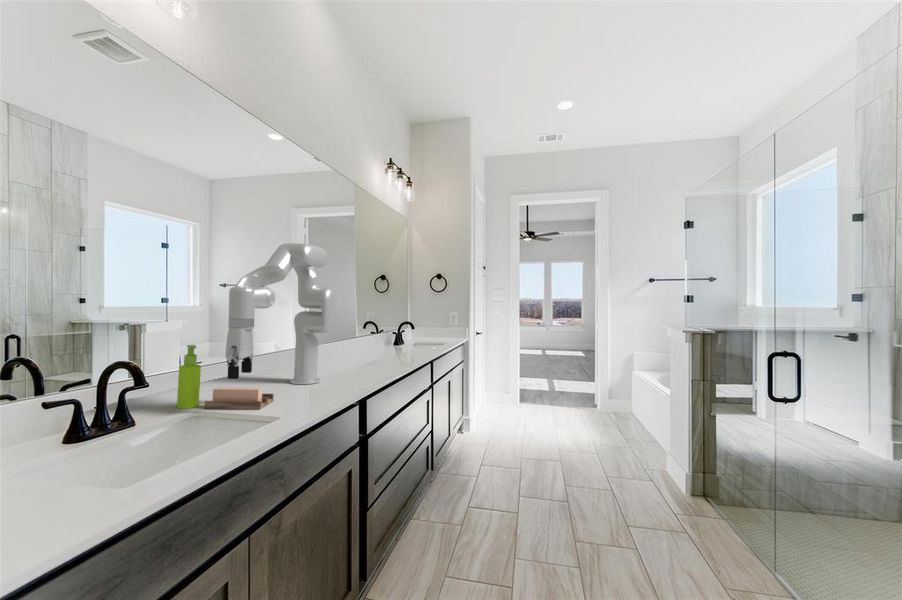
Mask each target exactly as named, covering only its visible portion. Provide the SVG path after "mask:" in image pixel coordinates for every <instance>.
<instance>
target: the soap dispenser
mask: <svg viewBox="0 0 902 600" xmlns="http://www.w3.org/2000/svg"><path fill="white" fill-rule="evenodd" d="M186 347H187V354H185V355H183V357H184V358H183V365H179V366H178V376H177V377H178V380H177V383H178V384H177V398H176V399H177V400H176V408H177V409H180V410H181V409H183V410H184V409H192V408H193V409H194V408H196V407H197V408H198V407H199V405H200V390H201V389H200V386H201V372H202V371H201V370H202V369H201V367H202V366H201V365H200V364H197V361H198V360H197V359H198V358H197V357H198V355H197V354H195V350H196V349H197V345H196V344H186Z"/></svg>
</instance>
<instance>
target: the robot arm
mask: <svg viewBox="0 0 902 600" xmlns="http://www.w3.org/2000/svg"><path fill="white" fill-rule="evenodd" d="M328 257H329V256H328V253H327V251H326V250H325V249H324V247H321V246H317V245H312V244H309V243H291V242H289V243H287V242H286V243H282V244H281V245H279V246H278V247H277V248H276V250H275V251H274V252H273V254H272V255H271V256H270V258H269V259H268V260H267V262H266V263H265V264H264V265H262V266H260V267H258V268H256V269H254V270H252V271H250V272H249V273H246V274H245V275H244V276H243V277H242V278H240V279H239V280H238V282H237V283H236V284H235V285H234V286H232V287H231V288H230V289H229V292H228V321H227V322H228V331H227V336H226V344H225V359H226V363H227V379H228V380H237V379H239V378H240V372H241V373H242V374H243V373H244V374H247V373H248V374H250V373H252V371H253V369H252V367H253V355H254V331H253V329H255V312H256V311H255V309H269V308H271V307H272V306H273V305H274V304H275V303H276V294H275V293H274V290H272V289H271V288H269V287H266V286H268V285H274V284H276V283H280V282H282V281H284V280H285V279H286V277H287V276H288V275H289V273H290V272H291V271H292V269H293V270H294V272H295V273H296V275H297V302H298V305H299V306H300V307H301V308H303V309H304V308H305V309H317V310H318V309H320V310H321V311H317V310H313V311H312V310H304V311H299V312H298V313H297V314H295V316H294V318H293V324H294V331H295V348H294V349H295V350H294V369H293V370H294V372H293V378H291V379H290V380H289V383H290V384H293V385H314V384H317V383H321V378H319V377H318V358H319V355H318V354H319V341H318V338H317V336H316V335H315V334H330V333H332V332H333V331H334V329H335V325H336V296H335V295H336V294H335V292H334V290H333V289H331V288H329V287H324V286H323V287H321V286H320V285H319V276H318V273H317V270H316V269H315V268H323V267H325V266H326V265H327V263H328ZM240 360H242V361H241V371H240V366H239V363H240Z"/></svg>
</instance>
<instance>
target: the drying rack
mask: <svg viewBox="0 0 902 600" xmlns="http://www.w3.org/2000/svg"><path fill="white" fill-rule="evenodd" d="M274 397H275V395H274V393H262V401H213V400H204V406H203V407H204V410H251V411H253V410H262V409H263V408H265V407H266V406H268V405H269V404H271V403H273V402H274Z"/></svg>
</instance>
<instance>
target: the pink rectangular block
mask: <svg viewBox="0 0 902 600" xmlns="http://www.w3.org/2000/svg"><path fill="white" fill-rule="evenodd" d="M262 394H263V387H251V386H250V387H249V386H247V387H244V386H243V387H239V386H238V387H236V386H232V387H231V386H229V387H228V386H227V387H226V386H218V387H215V388H213V390H212V401H262Z"/></svg>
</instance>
